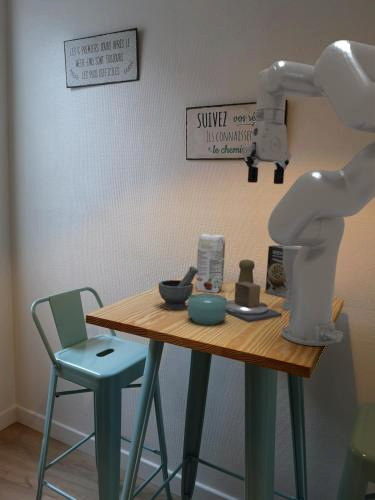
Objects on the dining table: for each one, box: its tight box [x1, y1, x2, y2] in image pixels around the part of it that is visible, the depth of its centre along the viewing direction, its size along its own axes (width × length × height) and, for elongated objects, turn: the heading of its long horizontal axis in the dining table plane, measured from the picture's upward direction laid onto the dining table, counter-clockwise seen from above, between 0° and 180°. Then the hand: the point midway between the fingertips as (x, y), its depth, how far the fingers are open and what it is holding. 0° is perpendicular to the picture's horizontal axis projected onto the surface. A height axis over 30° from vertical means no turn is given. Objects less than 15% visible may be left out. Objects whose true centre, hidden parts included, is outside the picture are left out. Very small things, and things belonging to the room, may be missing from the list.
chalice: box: [280, 246, 301, 311], centre depth 128 cm, size 7×7×18 cm
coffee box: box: [265, 244, 290, 299], centre depth 144 cm, size 9×6×16 cm
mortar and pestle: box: [158, 266, 198, 311], centre depth 124 cm, size 11×9×12 cm
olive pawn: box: [237, 259, 255, 284], centre depth 146 cm, size 6×6×11 cm
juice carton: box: [195, 233, 226, 294], centre depth 145 cm, size 8×9×19 cm
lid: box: [226, 281, 269, 315], centre depth 122 cm, size 12×12×7 cm
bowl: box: [187, 293, 228, 326], centre depth 113 cm, size 10×10×6 cm
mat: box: [226, 308, 283, 323], centre depth 123 cm, size 17×12×1 cm
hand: (265, 183), depth 118 cm, fingers open, 9 cm apart
